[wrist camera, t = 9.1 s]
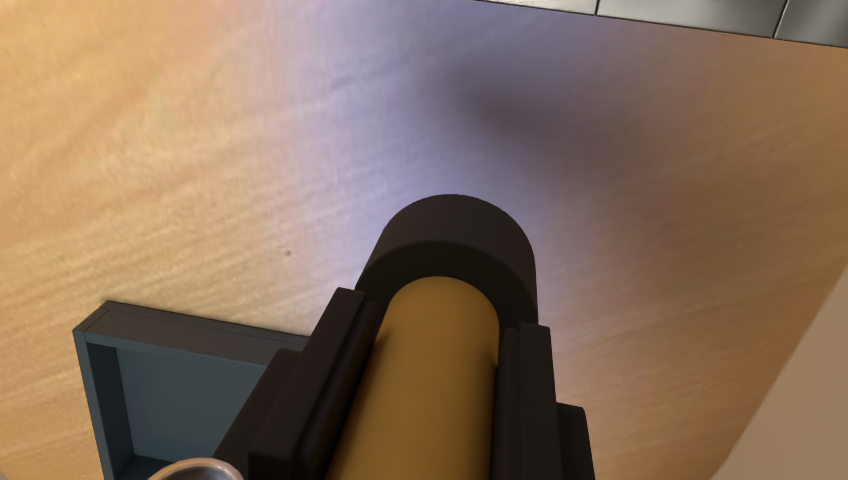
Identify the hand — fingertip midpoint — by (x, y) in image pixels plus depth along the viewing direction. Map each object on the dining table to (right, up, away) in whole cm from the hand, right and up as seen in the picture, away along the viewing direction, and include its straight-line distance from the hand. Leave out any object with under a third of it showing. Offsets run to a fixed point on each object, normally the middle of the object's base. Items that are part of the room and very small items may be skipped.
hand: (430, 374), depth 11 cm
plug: (+1, +2, +4) cm, 4 cm away
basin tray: (-11, -8, +25) cm, 28 cm away
